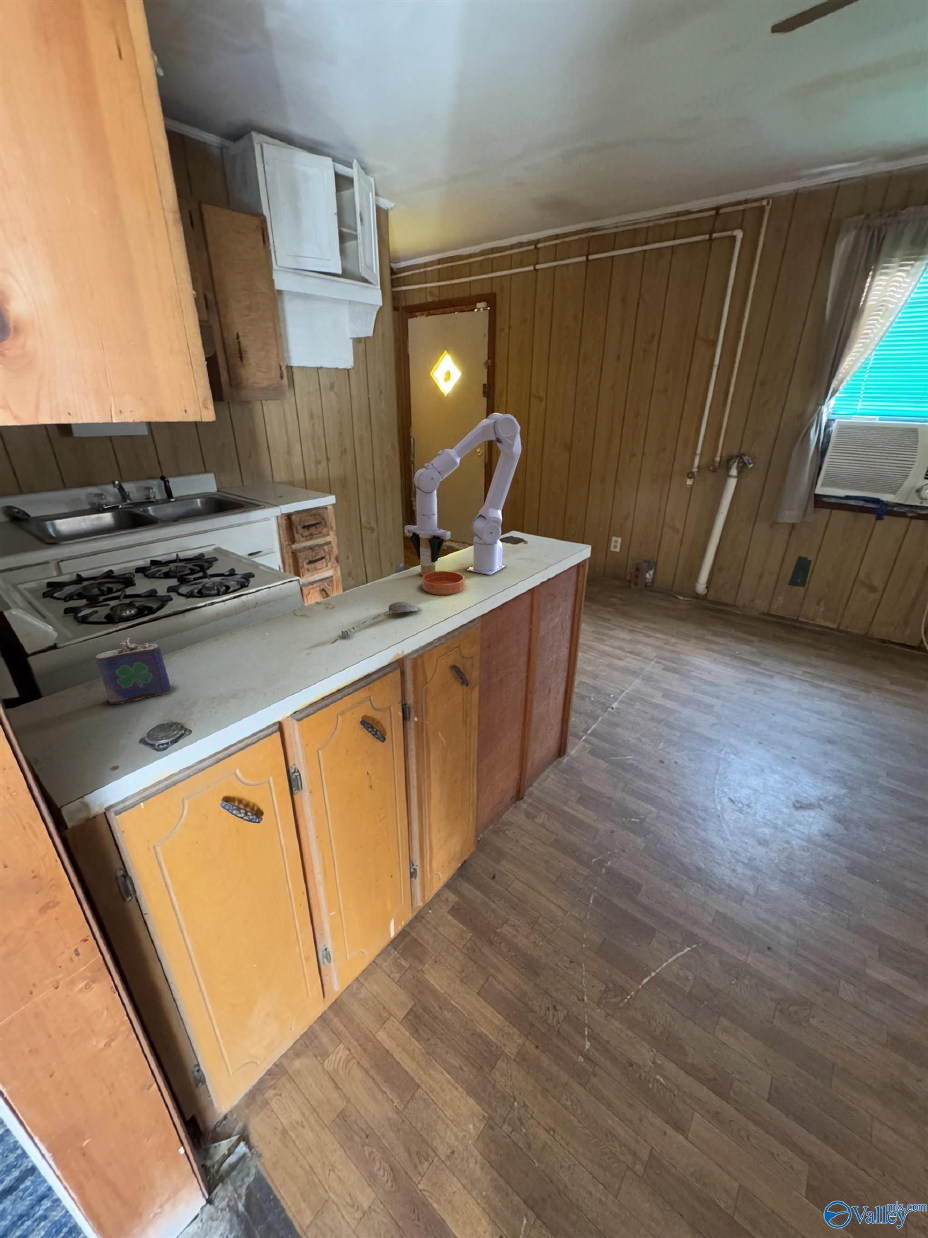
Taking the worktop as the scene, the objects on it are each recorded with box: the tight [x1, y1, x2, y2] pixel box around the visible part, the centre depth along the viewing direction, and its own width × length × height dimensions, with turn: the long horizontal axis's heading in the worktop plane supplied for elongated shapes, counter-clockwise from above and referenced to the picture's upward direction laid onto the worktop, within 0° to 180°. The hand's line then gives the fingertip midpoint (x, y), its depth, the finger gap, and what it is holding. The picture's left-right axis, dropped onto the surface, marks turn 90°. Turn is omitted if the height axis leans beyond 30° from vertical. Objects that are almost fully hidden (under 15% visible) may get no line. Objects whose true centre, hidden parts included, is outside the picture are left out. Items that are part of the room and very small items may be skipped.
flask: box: [94, 637, 172, 705], centre depth 85 cm, size 9×3×11 cm, turn 117°
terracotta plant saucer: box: [421, 570, 466, 596], centre depth 137 cm, size 12×12×3 cm
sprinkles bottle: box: [419, 534, 437, 577], centre depth 145 cm, size 5×5×14 cm
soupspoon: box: [340, 601, 419, 638], centre depth 116 cm, size 22×3×7 cm
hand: (427, 560), depth 146 cm, fingers closed on sprinkles bottle, 4 cm apart
